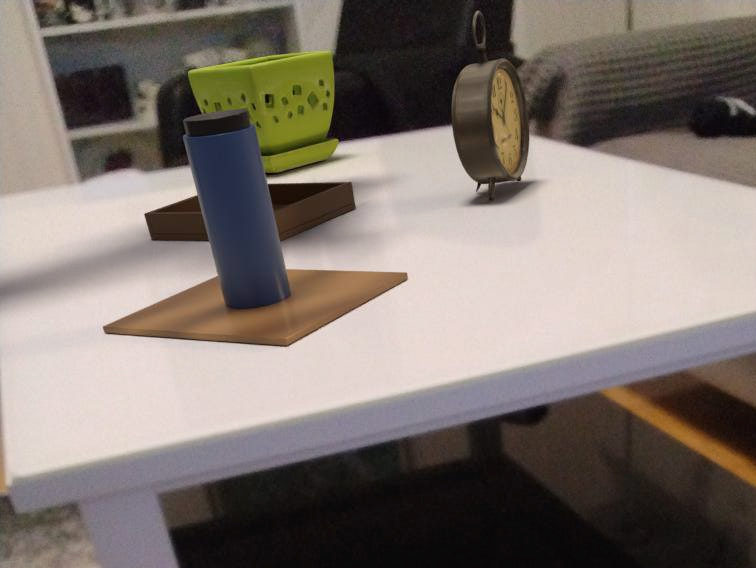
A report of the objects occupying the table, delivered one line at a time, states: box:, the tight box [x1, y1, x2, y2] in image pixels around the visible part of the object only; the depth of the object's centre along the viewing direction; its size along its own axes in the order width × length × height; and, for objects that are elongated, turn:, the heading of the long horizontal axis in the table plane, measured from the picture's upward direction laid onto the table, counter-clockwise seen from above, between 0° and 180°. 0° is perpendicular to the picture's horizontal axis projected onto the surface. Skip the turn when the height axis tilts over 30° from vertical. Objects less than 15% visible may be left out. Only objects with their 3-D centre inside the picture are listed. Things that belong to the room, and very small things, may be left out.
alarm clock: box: [450, 10, 530, 202], centre depth 102 cm, size 11×5×16 cm, turn 159°
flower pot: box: [187, 50, 339, 174], centre depth 134 cm, size 14×14×13 cm
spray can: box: [182, 109, 291, 309], centre depth 76 cm, size 5×5×13 cm
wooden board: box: [102, 268, 409, 347], centre depth 80 cm, size 18×16×1 cm
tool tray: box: [143, 181, 357, 242], centre depth 106 cm, size 17×13×3 cm
